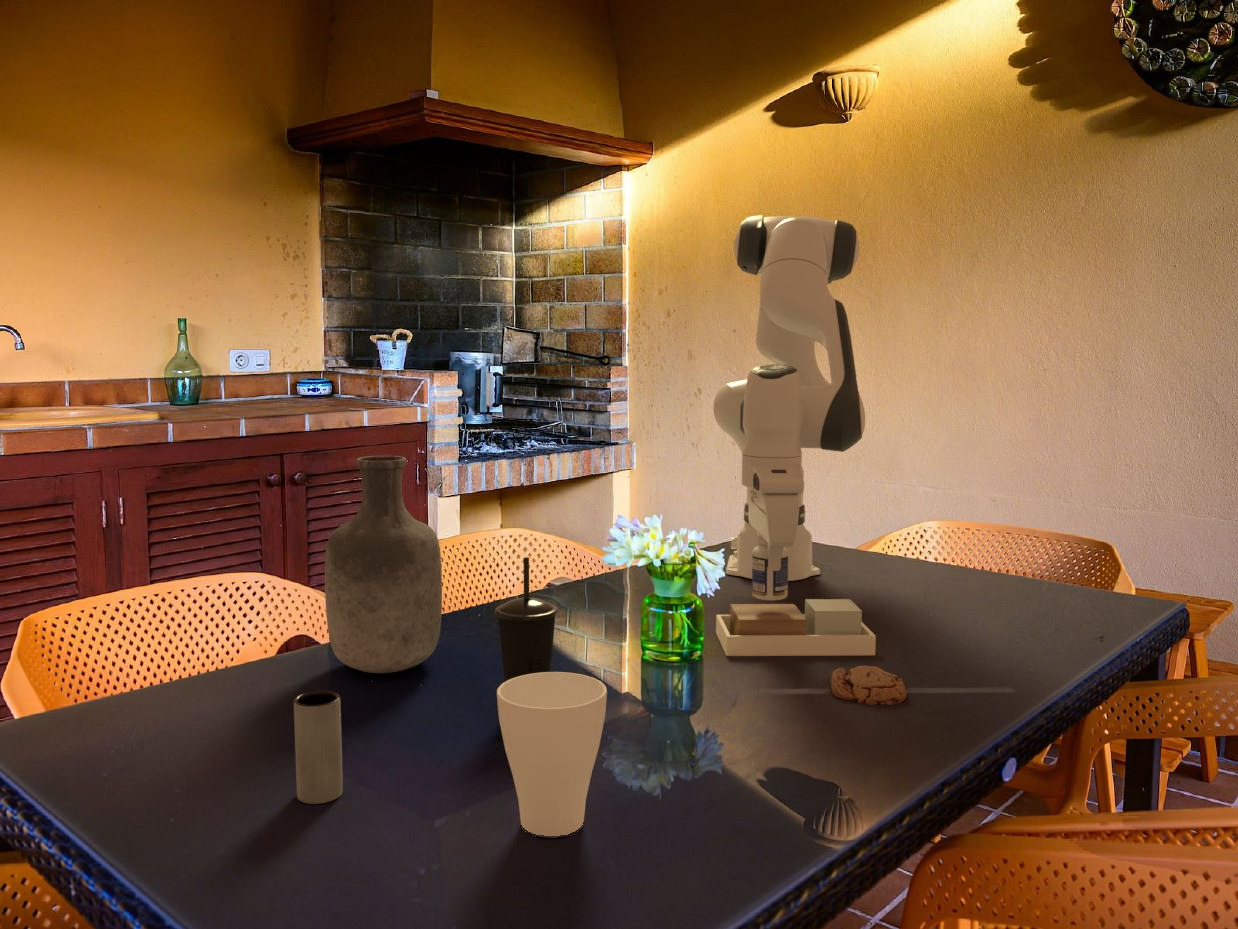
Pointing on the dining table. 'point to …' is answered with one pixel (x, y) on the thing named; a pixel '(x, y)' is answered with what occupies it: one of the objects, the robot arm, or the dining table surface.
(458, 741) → the dining table surface
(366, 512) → the vase
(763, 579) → the pill bottle
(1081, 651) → the dining table surface
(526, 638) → the drinking cup
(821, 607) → the pale green block
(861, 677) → the cookie
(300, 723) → the planter
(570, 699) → the cup
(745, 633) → the walnut block
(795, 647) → the box
